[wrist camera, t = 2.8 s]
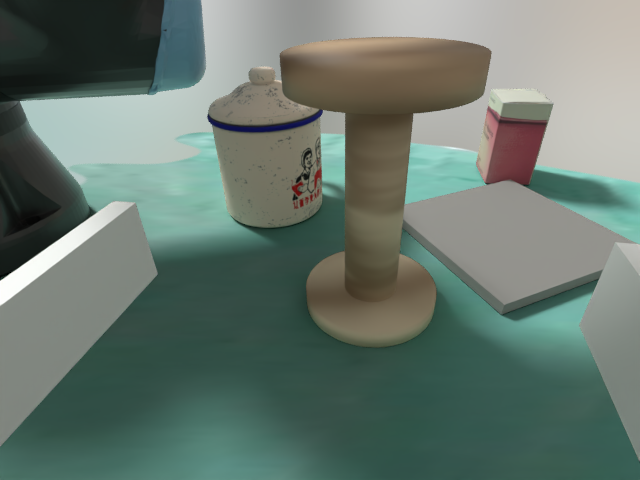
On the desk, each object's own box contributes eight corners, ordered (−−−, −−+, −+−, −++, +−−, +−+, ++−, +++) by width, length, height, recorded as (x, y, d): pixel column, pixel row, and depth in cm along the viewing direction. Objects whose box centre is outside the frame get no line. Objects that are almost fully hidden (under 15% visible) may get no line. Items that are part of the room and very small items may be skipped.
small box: (474, 164, 43) (489, 87, 38) (517, 165, 42) (537, 87, 38) (484, 185, 39) (502, 101, 34) (531, 186, 38) (555, 101, 34)
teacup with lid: (316, 234, 32) (310, 82, 26) (209, 228, 33) (177, 81, 27) (334, 173, 42) (333, 51, 36) (251, 170, 43) (235, 52, 37)
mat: (389, 216, 34) (390, 208, 34) (508, 186, 38) (510, 179, 38) (501, 314, 24) (504, 304, 24) (647, 260, 28) (652, 251, 27)
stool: (280, 277, 28) (256, 46, 20) (393, 246, 30) (412, 32, 22) (334, 376, 21) (329, 81, 13) (474, 324, 23) (543, 55, 15)
